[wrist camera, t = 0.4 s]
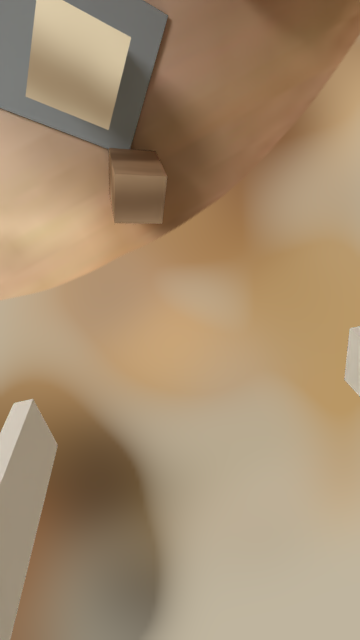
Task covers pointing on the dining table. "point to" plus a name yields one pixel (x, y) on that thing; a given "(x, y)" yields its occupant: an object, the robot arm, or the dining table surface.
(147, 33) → the rubber mat
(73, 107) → the birch block
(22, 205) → the dining table surface
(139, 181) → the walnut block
